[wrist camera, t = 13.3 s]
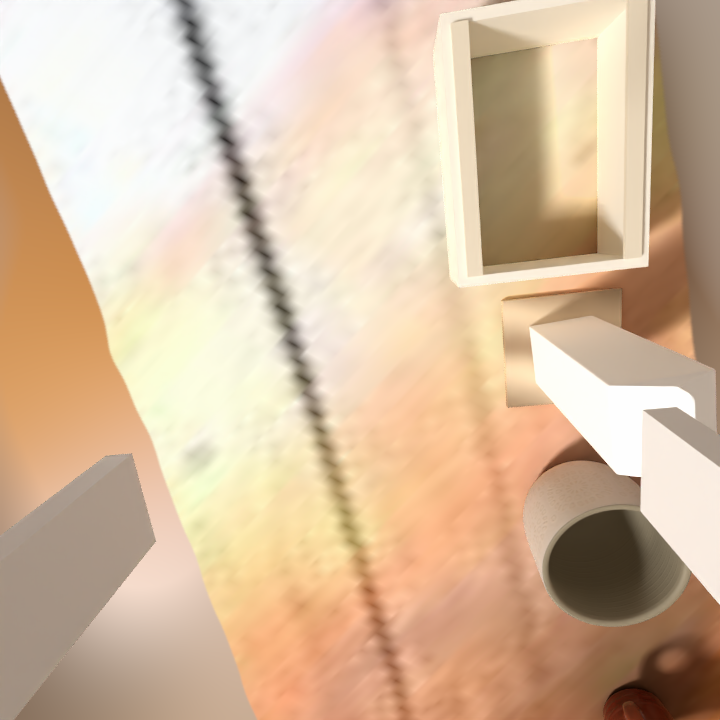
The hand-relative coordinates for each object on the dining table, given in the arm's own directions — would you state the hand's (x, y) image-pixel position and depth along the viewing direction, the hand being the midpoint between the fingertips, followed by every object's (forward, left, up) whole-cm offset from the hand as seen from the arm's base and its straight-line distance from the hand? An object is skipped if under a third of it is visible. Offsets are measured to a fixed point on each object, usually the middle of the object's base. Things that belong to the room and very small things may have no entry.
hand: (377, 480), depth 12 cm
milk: (+7, +16, -36) cm, 40 cm away
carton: (-11, +13, -37) cm, 40 cm away
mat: (+7, +16, -37) cm, 40 cm away
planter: (+24, +17, -37) cm, 47 cm away
